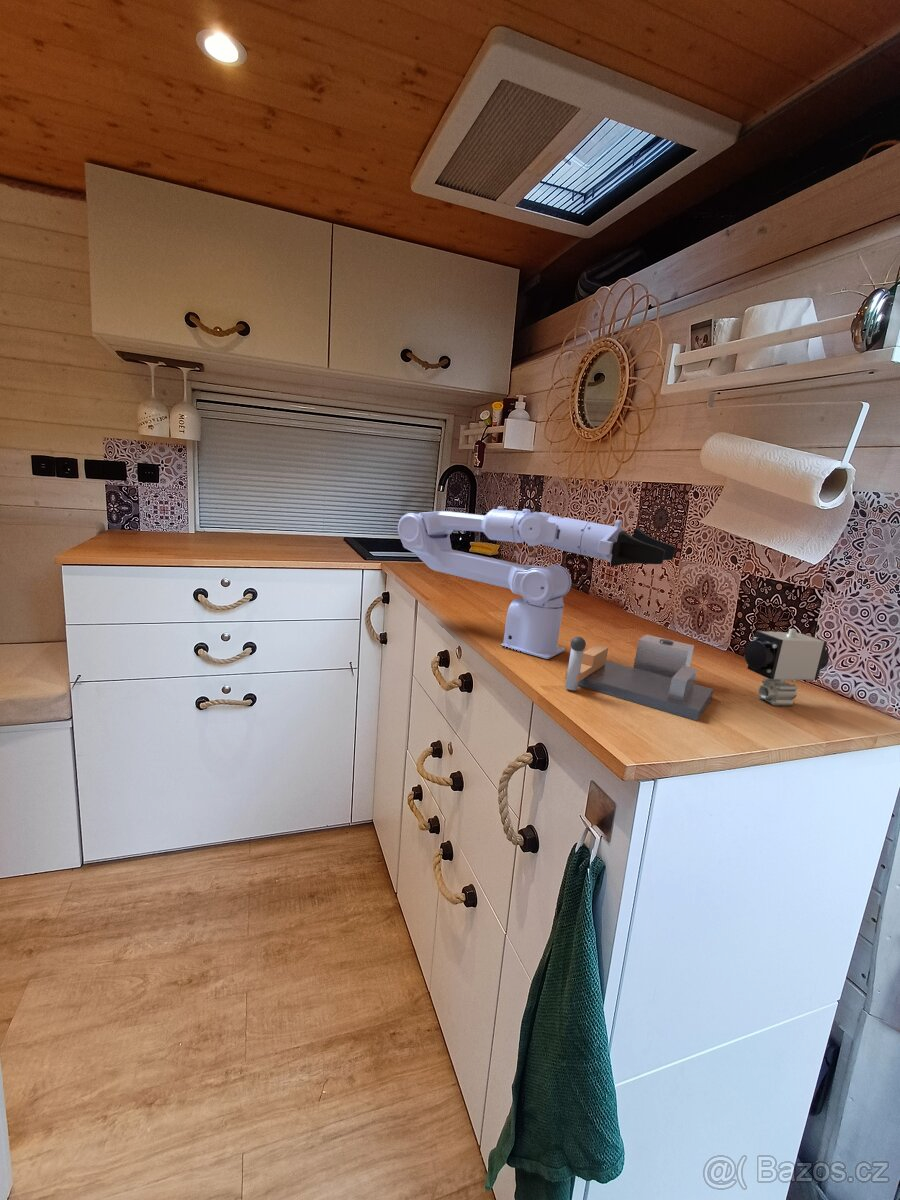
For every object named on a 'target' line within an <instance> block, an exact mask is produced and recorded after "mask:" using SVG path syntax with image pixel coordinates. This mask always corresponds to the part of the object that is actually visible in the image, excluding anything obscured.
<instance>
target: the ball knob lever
mask: <svg viewBox="0 0 900 1200" xmlns="http://www.w3.org/2000/svg"><path fill="white" fill-rule="evenodd" d="M586 642H587V641H586V640H585V639H584V637H581V636H575V637H573V638H572V639H571V640H570V654H569V658H568V659H569V660H568V667H567V670H566V671H565V676H564V679H565V685H564V687H565V689H566V690H569V691H577V690H578V687H579V686H578V682H579V681H581V680H582V679H584V678H585V677H587V676H588V675H590V674H591V673H593V672H594V671H596V670H598V669H599V668H601V667H602V666H604V665H605V664H606V661H607V658H608V651H609V647H607V646H604V645H600V644H595V645H594V646H592V647H589V648H588V649H586V646H587V644H586ZM585 649H586V650H585Z"/></svg>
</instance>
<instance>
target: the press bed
mask: <svg viewBox="0 0 900 1200" xmlns="http://www.w3.org/2000/svg"><path fill="white" fill-rule="evenodd" d="M697 672H698V668H695V667H694V668H693V667H691V666H690V667H687V666H683V667H682V668H681V669H680V670H679V671H678V672H677V673H676V674H675V675H674V676H673V677H672V678H670V677H666V676H662V675H659V674H655V673H651V672H647V671H643V670H640V669H636V668H634V667H631V666H628V665H624V664H620V663H617V662H614V661H610V660H606V664H605V665H604V666H602V667H601V668H599V669H598V670H596V671H594V672H593V673H591V674H590V675H588V676H587V677H585V678H584V679H582V680H581V681H579V682H578V687H582V688H585V689H588V690H591V691H595V692H599V693H602V694H605V695H609V696H612V697H616V698H619V699H622V700H626V701H629V702H632V703H636V704H640V705H643V706H646V707H649V708H653V709H656V710H660V711H661V712H667V713H669V714H672V715H676V716H680V717H683V718H685V719H690V720H693V721H696V722H698V720H699V719H700V717H702V714H703V712H704V711H705V710H706V708H707V706H708V704H709V703H710V701H711V700H712V698H713V692H714V688H711V687H707V686H704V685H699V684H695V681H696V677H697Z"/></svg>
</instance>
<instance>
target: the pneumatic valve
mask: <svg viewBox="0 0 900 1200" xmlns="http://www.w3.org/2000/svg"><path fill="white" fill-rule="evenodd" d="M827 644H828V641H827V640H823V639H821V638H817V637H815V636H811V635H809V634H805V633H803V632H797V629H796V628H788V632H786V631H785V632H782V631H762V630H761V631H760V630H759V631H755V634H754V637H753V638H752V640H751V641H749V642H748V643H747V645H746V646H745V648H744V660H745V662H746V664H747V669H748V670H749V671H752V672H754V673H755V674H758V675H760V676H763V677H764V678H763V679H762V680H761V683H762V684H761V685H760V686H759V688H758V698H759V699H760V700H763V701H765V702H768V703H770V705H772V706H774V707H779V706H780V707H792V706H793V705H794V701H793V700H794V699H796V697H797V696H798V692H797V691H798V686H797V685H796V684H790V683H789V682H787V681H791V682H793V683H795V682H796V681H797V680H800V681H801V680H802V681H806V680H807V681H817V680H818V679H819V676H820V674H821V670H823V669H825V668H826V667H827V665H828V664H829V660H830V655H829V650H828V649H827Z"/></svg>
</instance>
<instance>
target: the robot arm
mask: <svg viewBox="0 0 900 1200" xmlns="http://www.w3.org/2000/svg"><path fill="white" fill-rule="evenodd" d="M454 531H463V532H464V531H465V532H467V531H468V532H478V533H479V532H481V533H484V534H485V536H486V538H487V539H488V540H491V541H500V542H509V543H519V544H520V543H521V544H522V543H524V542H525V544H527V546H529V547H535V546H540V545H543V546H546V547H550V548H555V549H556V550H559V551H564V552H568V553H571V554H572V553H573V554H577V555H581V556H586V557H590V558H594V559H600V560H604V561H606V562H607V563H610V566H612V567H617V566H621V565H627V564H628V565H630V564H632V565H633V564H641V565H643V564H644V565H661V564H663V563H664V561H672V560H673V559H674V556H675V552H676V547H675V546H673V545H671V544H669V543H666V542H665V541H661V540H658V539H656V538H654V537H652V536H650V535H649V534H647V533H646V532H644V531H643V530H642V529H640V528H634V529H633V532H632V535H631V534H629V533H628V532H626V531H625V530H624V528H623V520H622V519H616V520H615V521H614V526H613V525H609V524H608V525H607V524H602V523H598V522H592V521H588V520H587V521H586V520H582V519H576V518H571V517H562V516H558V515H557V516H556V515H553V514H552V513H549V512H546V511H540V512H539V511H534V512H531V509H529V508H523V509H522V510H514V509H513V510H511V509H508V506H497V508H493V509H490V510H489V511H488V512H487V513H486V514H485V515H484V514H483V515H482V514H476V513H467V512H458V511H450V510H449V511H447V510H446V511H444V510H443V511H442V510H440V511H438V510H437V511H426V512H425V511H424V512H419V513H413V512H408V513H405V514H404V515H403V516H401V518H400V519H399V521H398V524H397V534H398V537H399V539H400V541H401V543H402V547H403V548H404V549H406V550H408V551H410V552H411V553H413V554H415V556H417V558H419V560H421V562H423V563H424V564H425V565H426V566H427V567H428V568H430V569H431V570H433V571H435V572H438V573H442V574H443V573H444V574H448V575H451V576H456V577H460V578H463V579H468V580H472V581H475V582H479V583H485V584H489V585H493V586H496V587H501V588H504V589H509V590H510V591H511V593H512V594H516V595H519V596H521V597H522V598H521V597H517V598H516V597H515V598H514V599H513V600H512V601H511V602H510V604H509V606H508V609H507V612H506V613H507V614H506V619H505V627H504V636H503V641H502V642H503V643H501V644H500V646H501V645H502V646H505V647H504V648H506V647H508V648H507V649H509V648H511V649H510V650H513V649H514V650H513V651H516V650H517V652H520V651H521V652H520V653H525V654H528V655H531V656H535V657H539V658H542V659H546V660H549V659H551V658H553V657H554V656H557V655H559V654H561V653H563V652H565V651H566V650H565V648H564V647H562V646H558V645H559V637H560V633H561V632H560V630H561V625H562V617H563V611H564V605H565V603H564V599H563V598H564V596H566V595H567V594H568V593H569V591H570V589H571V587H572V578H571V574H570V572H569V571H568V570H567V568H565V567H563V566H561V565H559V564H550V565H547V566H539V565H532V564H531V565H530V564H521V563H520V564H519V563H517V562H511V561H507V560H502V559H497V558H494V557H488V556H484V555H479V554H476V553H475V554H474V553H469V552H464V551H461V550H456V549H453V548H452V543H451V538H450V535H452V533H453V532H454ZM502 646H501V647H502Z"/></svg>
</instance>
